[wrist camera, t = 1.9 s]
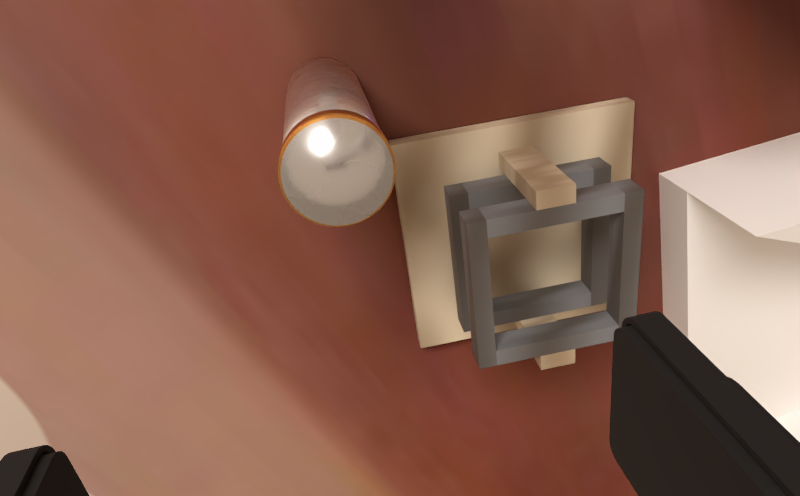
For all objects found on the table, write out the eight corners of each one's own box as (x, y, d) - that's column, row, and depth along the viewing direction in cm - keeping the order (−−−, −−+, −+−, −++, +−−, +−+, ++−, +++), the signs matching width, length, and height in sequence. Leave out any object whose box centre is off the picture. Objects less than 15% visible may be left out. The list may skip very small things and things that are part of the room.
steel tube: (356, 49, 31) (387, 106, 20) (369, 127, 33) (403, 216, 22) (276, 62, 30) (264, 128, 20) (294, 141, 32) (292, 237, 22)
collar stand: (626, 97, 34) (698, 131, 28) (616, 298, 41) (673, 361, 35) (388, 140, 33) (408, 185, 27) (418, 339, 40) (440, 412, 34)
